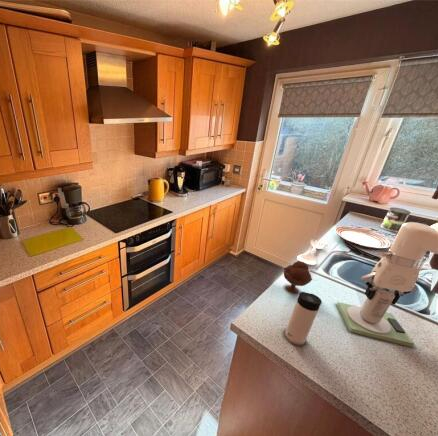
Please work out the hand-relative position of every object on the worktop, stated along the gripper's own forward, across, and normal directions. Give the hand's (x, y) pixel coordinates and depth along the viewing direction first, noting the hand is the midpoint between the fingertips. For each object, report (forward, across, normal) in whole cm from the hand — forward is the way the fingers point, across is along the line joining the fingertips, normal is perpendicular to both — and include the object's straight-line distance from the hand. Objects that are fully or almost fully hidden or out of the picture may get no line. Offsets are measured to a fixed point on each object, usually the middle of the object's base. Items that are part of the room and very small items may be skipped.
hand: (379, 298), depth 84 cm
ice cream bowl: (+13, -24, +11) cm, 29 cm away
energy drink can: (+10, 0, 0) cm, 10 cm away
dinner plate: (+13, +26, +78) cm, 83 cm away
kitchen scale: (+13, +1, 0) cm, 13 cm away
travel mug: (+13, -28, -17) cm, 35 cm away
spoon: (+13, -7, +48) cm, 50 cm away
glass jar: (+13, +54, +105) cm, 119 cm away
